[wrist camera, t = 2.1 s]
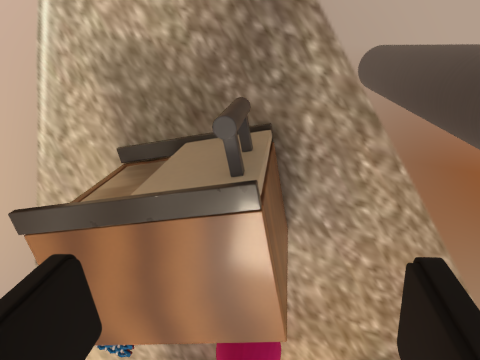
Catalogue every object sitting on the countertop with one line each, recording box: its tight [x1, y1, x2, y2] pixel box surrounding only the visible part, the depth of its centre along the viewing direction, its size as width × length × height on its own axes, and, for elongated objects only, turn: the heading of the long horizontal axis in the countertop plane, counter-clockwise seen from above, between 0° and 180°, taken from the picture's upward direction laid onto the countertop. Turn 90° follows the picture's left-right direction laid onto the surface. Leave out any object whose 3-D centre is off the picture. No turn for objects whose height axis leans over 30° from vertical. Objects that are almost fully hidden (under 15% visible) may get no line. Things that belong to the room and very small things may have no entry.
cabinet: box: [8, 124, 288, 345], centre depth 27 cm, size 16×12×14 cm
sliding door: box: [131, 97, 272, 196], centre depth 24 cm, size 8×5×13 cm, turn 101°
